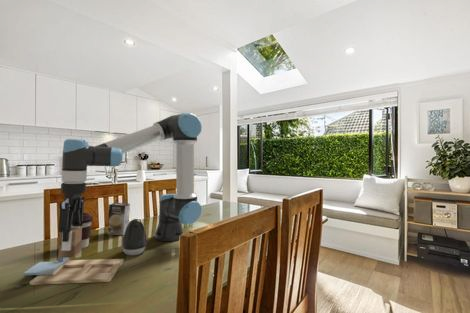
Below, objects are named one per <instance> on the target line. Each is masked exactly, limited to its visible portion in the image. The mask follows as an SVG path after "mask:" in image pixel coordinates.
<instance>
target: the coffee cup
mask: <svg viewBox="0 0 470 313" xmlns="http://www.w3.org/2000/svg"><path fill="white" fill-rule="evenodd" d="M93 220H94V217H93V216H92V215H90V213H88V212H83V222H82V223H83V225H82V226H79V227H80V228H82V238H81V250H82V249H85V248H87V247H89V244H90V243H89V242H90V237H91V232H92V230H91V229H92V222H93ZM71 227H72V226H71Z"/></svg>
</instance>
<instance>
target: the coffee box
mask: <svg viewBox="0 0 470 313" xmlns="http://www.w3.org/2000/svg"><path fill="white" fill-rule="evenodd" d="M130 208H131V204H130V203H125V202H124V203H123V202H113V203H110V204H109V205H108V214H107V215H108V218H107V232H106V233H107V234H106V235H111V236H112V235H113V236H124V233H125V230H126V228H127V225H128V224H129V222H130Z"/></svg>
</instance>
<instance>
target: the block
mask: <svg viewBox="0 0 470 313" xmlns="http://www.w3.org/2000/svg"><path fill="white" fill-rule="evenodd" d="M71 231H72V242H71V250H70V251H61V250H62V232H59V239H58V241H59V242H58V255H59V256H58V255H57V259H58V258H68V259H69V258H75V257H77V256H78V255H79V254H80V253H81V252H82V249H81V238H82V228H71Z"/></svg>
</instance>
